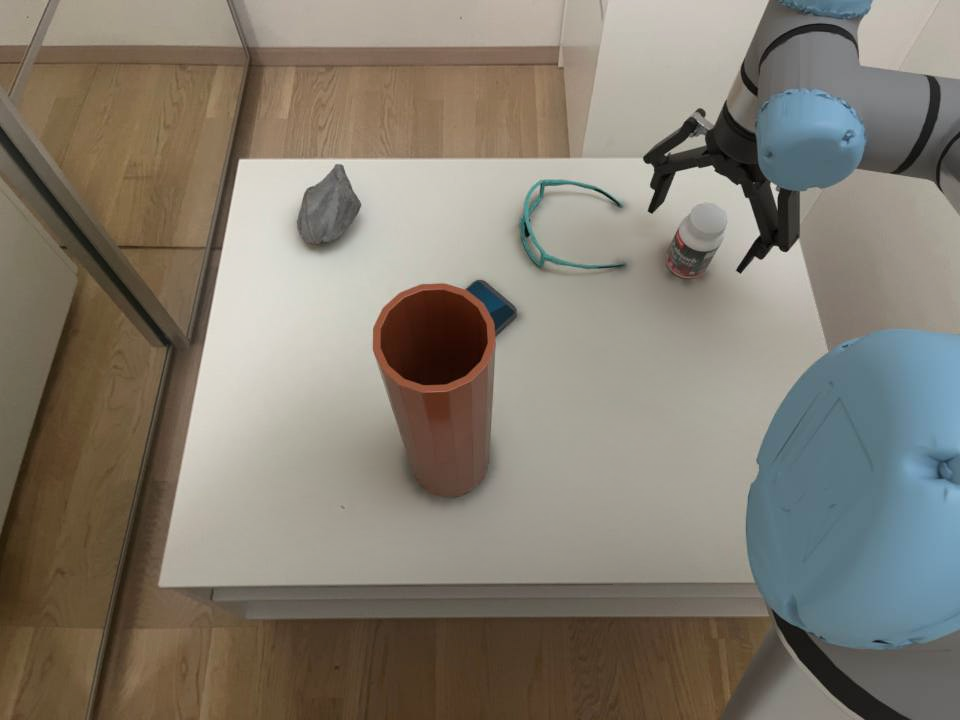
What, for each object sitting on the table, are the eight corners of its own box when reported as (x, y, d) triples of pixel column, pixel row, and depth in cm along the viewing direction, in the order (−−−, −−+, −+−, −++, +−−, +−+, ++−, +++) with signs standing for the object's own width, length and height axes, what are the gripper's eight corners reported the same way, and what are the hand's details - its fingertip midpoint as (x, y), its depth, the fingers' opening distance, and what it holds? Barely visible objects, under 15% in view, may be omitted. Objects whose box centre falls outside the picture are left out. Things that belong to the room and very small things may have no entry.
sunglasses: (517, 191, 96) (523, 167, 91) (619, 201, 97) (629, 178, 92) (516, 274, 90) (522, 253, 85) (624, 283, 91) (635, 263, 86)
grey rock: (306, 190, 96) (292, 151, 89) (369, 191, 96) (360, 152, 89) (295, 255, 91) (280, 219, 84) (361, 256, 91) (351, 220, 84)
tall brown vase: (504, 456, 79) (520, 331, 50) (451, 513, 76) (435, 417, 47) (448, 407, 82) (432, 262, 53) (395, 461, 79) (347, 339, 50)
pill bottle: (656, 260, 91) (675, 215, 82) (683, 237, 93) (705, 190, 84) (688, 287, 89) (711, 244, 80) (715, 263, 91) (741, 218, 82)
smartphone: (520, 314, 87) (520, 310, 86) (437, 390, 83) (436, 387, 82) (479, 279, 89) (479, 275, 89) (396, 351, 85) (395, 348, 84)
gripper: (895, 154, 64) (798, 272, 83) (681, 31, 71) (637, 166, 90) (856, 201, 62) (766, 311, 81) (639, 69, 69) (604, 200, 88)
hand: (698, 235), depth 86 cm, fingers open, 13 cm apart
